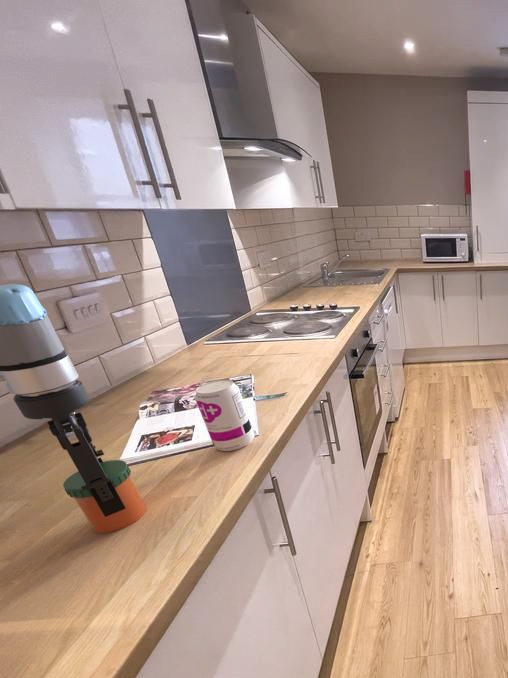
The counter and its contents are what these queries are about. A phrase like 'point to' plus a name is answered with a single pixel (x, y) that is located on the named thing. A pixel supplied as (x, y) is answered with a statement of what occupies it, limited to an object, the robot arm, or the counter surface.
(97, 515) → the honey jar
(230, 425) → the supplement can
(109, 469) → the honey lid
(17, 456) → the counter surface
